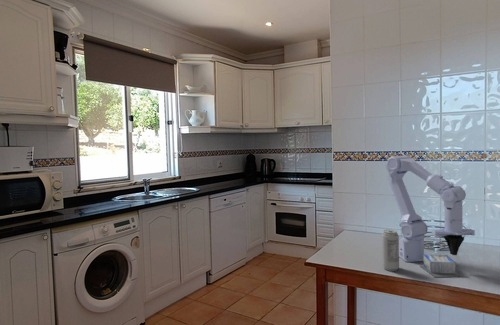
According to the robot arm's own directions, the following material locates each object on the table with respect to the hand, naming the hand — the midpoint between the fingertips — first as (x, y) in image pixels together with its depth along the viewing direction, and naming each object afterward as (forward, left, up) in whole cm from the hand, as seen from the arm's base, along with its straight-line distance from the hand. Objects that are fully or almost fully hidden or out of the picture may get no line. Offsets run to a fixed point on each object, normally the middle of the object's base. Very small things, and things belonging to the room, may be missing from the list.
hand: (453, 254), depth 122 cm
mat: (-5, 0, -6) cm, 8 cm away
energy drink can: (-22, +4, -7) cm, 23 cm away
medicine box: (0, 0, -4) cm, 4 cm away
